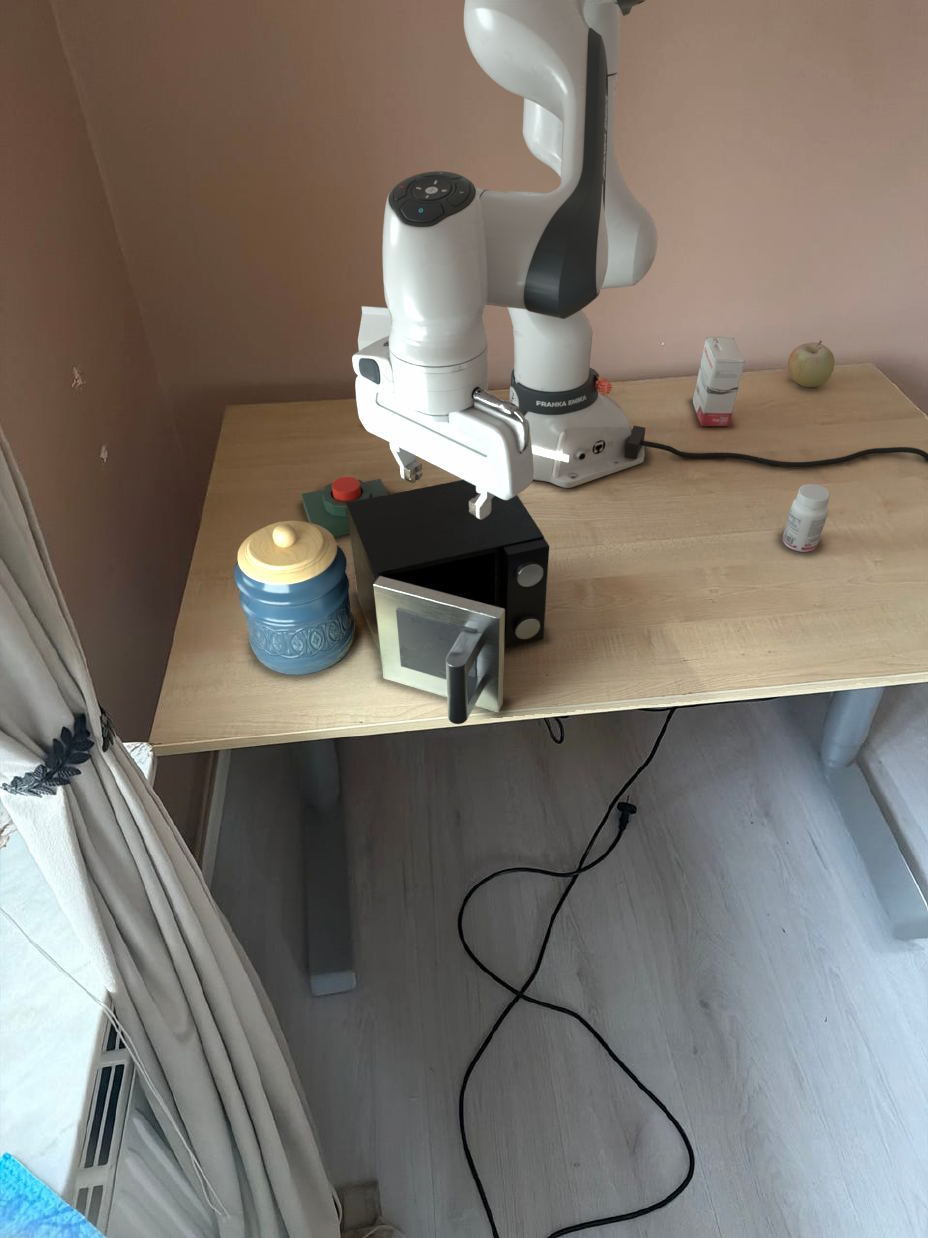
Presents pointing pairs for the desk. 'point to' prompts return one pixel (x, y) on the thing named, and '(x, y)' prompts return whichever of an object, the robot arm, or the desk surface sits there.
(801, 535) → the pill bottle
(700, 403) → the ink box
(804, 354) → the fruit
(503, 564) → the microwave
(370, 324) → the milk carton
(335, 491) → the release button
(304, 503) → the block
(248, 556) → the canister
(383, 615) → the microwave door
